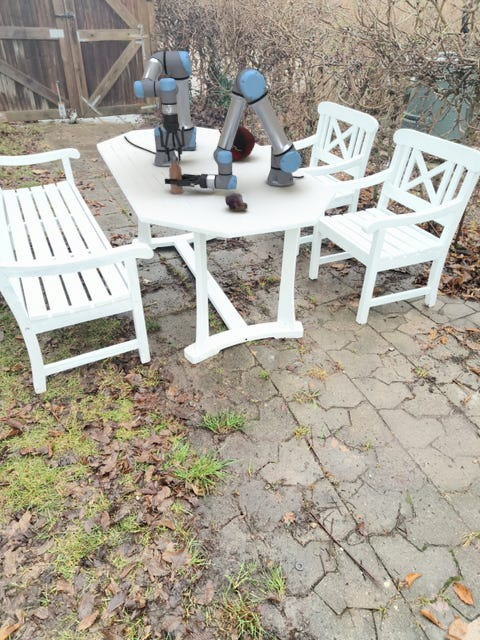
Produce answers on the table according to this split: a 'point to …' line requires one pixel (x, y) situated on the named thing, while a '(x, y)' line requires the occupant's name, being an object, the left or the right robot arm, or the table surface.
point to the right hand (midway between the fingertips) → (167, 179)
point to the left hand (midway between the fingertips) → (174, 160)
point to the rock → (235, 202)
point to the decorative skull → (242, 144)
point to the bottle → (175, 177)
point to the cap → (174, 158)
